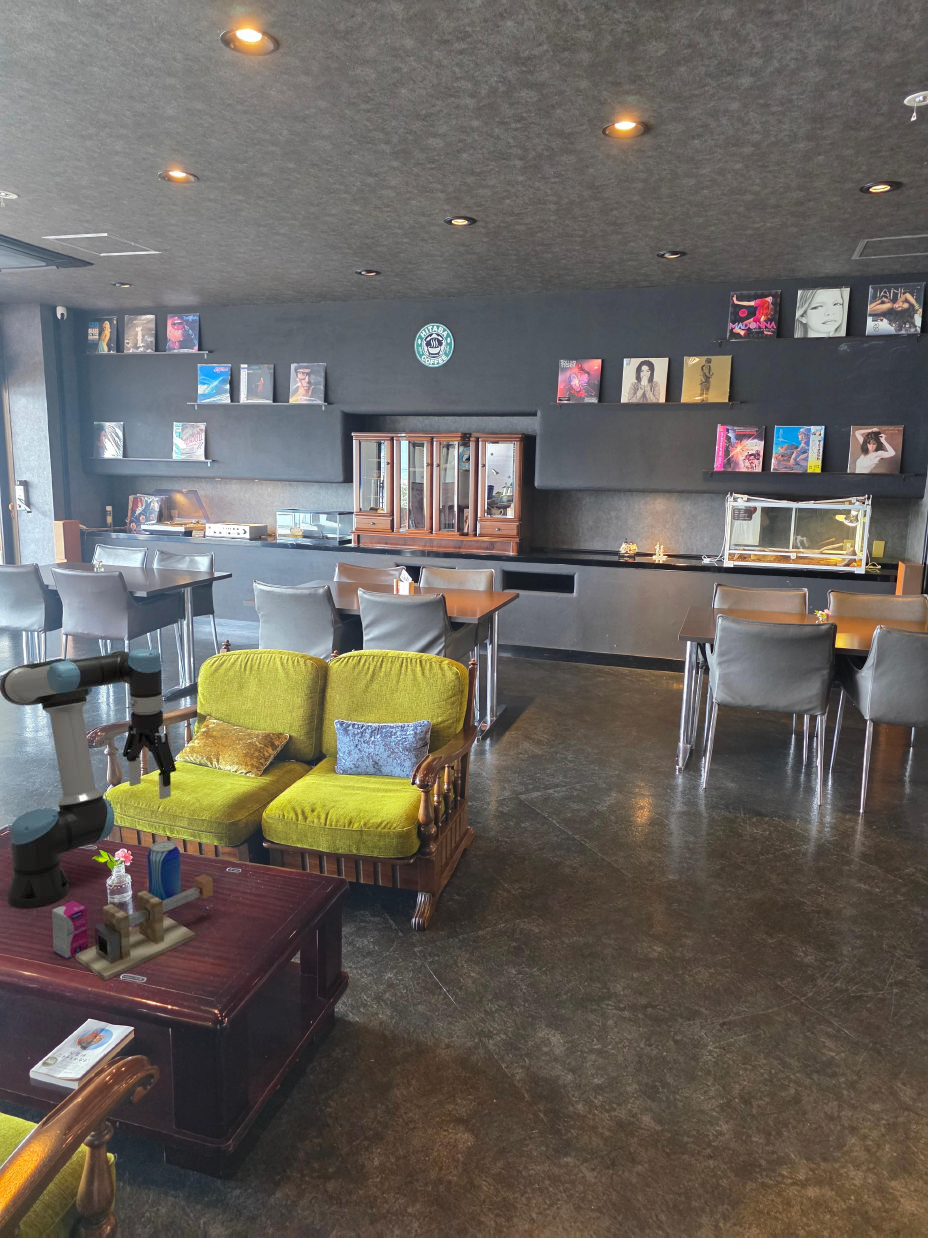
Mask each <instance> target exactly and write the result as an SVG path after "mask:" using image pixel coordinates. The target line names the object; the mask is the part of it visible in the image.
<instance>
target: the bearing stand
mask: <svg viewBox="0 0 928 1238" xmlns="http://www.w3.org/2000/svg"><path fill="white" fill-rule="evenodd" d="M144 908H147V909H149V910H150V918H149V919H147V920H145V921H142V922H140V923H138V926H136V927H134V928H132V929H130V927H129V915H130V914H127V913H126V912H125V911H124V910H121V909H120V908H118V907H117V906H115V905H114V904H111V903H110V904H108V905H105V906H103V923H105V924H107V925H108V926H110V927H111V928H113V929H115V930H116V931H118V932H119V934H120V955H121V960H119V961H117V962H115V963H112V964H110V963H109V962H108V961H106V960H105V959H103V958H102V957H100V956H99V955H98V954H96V944H95V945H93V946H91V947H88V949H86V950H84V951H81V952H79V953H77V954H75V956H74V957H75V960H76V961H78V962H80V963H81V964H82V965H83V966H85V967H86V968H88V969H89V970H90V971H91V972H93V973H94V974H96V975H97V976H98V977H100V978H101V979H103V980H104V981H105V982H106V981H108V980H111V979H112V978H114V977H117V976H119V975H120V974H123V973H125V972H127V971H129V970H131V969H133V968H136V967H137V966H140V965H142V964H144V963H146V962H148V961H149V960H150V961H151V960H152V959H154V958H156V957H158V956H160V955H162V954H165V953H166V952H169V951H171V950H173V949H175V948H177V947H180V946H182V945H184V944H186V943H187V942H189V941H192V940H194V939H196V932H194V931H192V930H190V929H189V928H187V927H185V926H184V925H182V924H180V923H178V922H177V921H175V920H174V919H171V918H170V917H168V916H166V915H165V914H164V912H163V901H162V900H160V899H159V898H157V897H155V896H153V895H152V894H150V893H149V891H147V890H143V891H140V892H137V911H140V910H142V909H144Z"/></svg>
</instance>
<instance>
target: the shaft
mask: <svg viewBox="0 0 928 1238" xmlns="http://www.w3.org/2000/svg"><path fill="white" fill-rule="evenodd" d="M213 881H214V879H213V878H212V877H210V876H208V875H207V874H201V875H199V876H196V877H194V878H193V887H191V888H190V889H187V890H185V891H181V893H180V894H177V895H175V896H173V897H170V898H168V899H166V900H163V913H165V912H167V911H170V910H172V909H175V908H176V907H179V906H181V905H184V904H186V903H188V902H190V901H193V900H195V899H197V898H201V899H203V900H204V899H207V898H209V897H211V896H213V895H214V882H213ZM128 915H129V928H131V927H133V926H135V925H139V923H140V922H142V921H145V920H147V919H149V918H150V910H149V909H147V908H144V909H142V910H140V911H138V910H137V911H135V912H133V913H130V914H128Z"/></svg>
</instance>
